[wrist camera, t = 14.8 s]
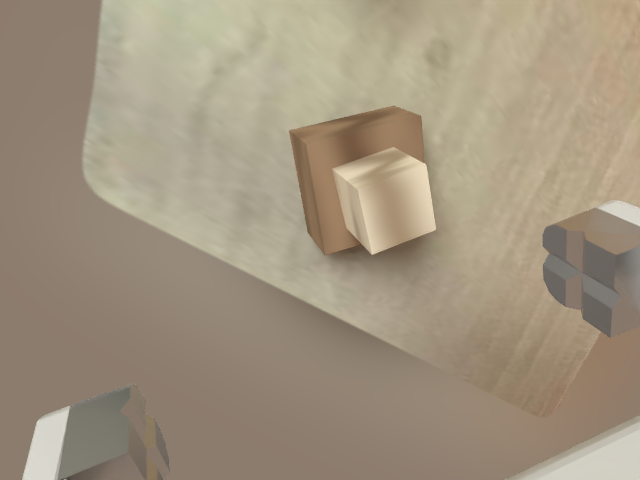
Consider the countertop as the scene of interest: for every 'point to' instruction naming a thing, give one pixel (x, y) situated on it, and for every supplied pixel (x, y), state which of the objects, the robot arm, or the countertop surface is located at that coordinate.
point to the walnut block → (341, 148)
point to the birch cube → (385, 199)
